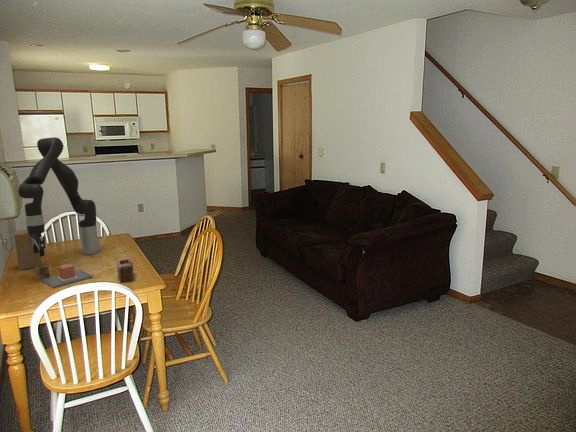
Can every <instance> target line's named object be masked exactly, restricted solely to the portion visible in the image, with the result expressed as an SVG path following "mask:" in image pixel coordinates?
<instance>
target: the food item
mask: <svg viewBox="0 0 576 432" xmlns="http://www.w3.org/2000/svg"><path fill="white" fill-rule="evenodd" d="M130 260H131V259H128V258H127V259H120V260H117V263H116V270H117V276H118V279H119V281H120V283H128V282H133V281H134V264H133V261H130Z"/></svg>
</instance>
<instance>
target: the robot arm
mask: <svg viewBox="0 0 576 432" xmlns="http://www.w3.org/2000/svg"><path fill="white" fill-rule="evenodd" d="M36 146H37V151H39V153H40V155H41V156H42V158H41V159H40V160H38V162H37V163H35V164H34V166H33V167H32V169H31V171H30V173H29V176H28V177H26V178H25V180H23V181H22V182H21V184H20V185H19V186H18V190H17V193H18V195H19V197H20V198H22V199H32V202H28V203H26V204H25V205H24V211H25V223H26V224H25V225H26V230H27V232H28V234H30V242H31V244H32V246H33V251H34V253H39V256H40V257H41V258H43V257H45V255H46V254H45V253H46V252H45V249H46V248H47V247H46V241H45V239H46V238H45V236H44V235H43V236H42V234H43V233H45V231H46V230H45V228H46V227H45V223H44V216H43V210H42V203H43V196H44V188H43V186H42V185H43V184H44V183H45V180H46V178H47V176H48V174H49V172H50V170H52V172H53V174H54V175H55V177H56V179H57V180H58V182H59V184H60V186H61V187H62V189H63V190H64V192H65V194H66V195H67V198H68V200H69V202H70V205H71V207H72V209H73V211H74V212H75V213H76V214H78V215H81V216H84V218H83V220H79V222H78V228H79V229H78V230H79V238H80V248H81V253H82V255H85V256H87V255H89V256H90V255H94V254H98V253H100V252H101V251H100V250H101V247H100V240H99V236H98V233H97V226H96V225H97V224H96V222H97V207H96V206H97V205H96V203H95V202H94V201H93V200H92V199H83V198H82V197H81V195H80V193H79V191H78V189H79V179H78V178H77V176H76V175H77V174H76V173H75V172H74V170H73V169H72V168H70V167H69V166H68V165H67V164H65V163H64V162H62V161H61V160H59V157H60V156H61V154H62V153H63V151H64V142H63V141H62V140H61V138H59V137H45V138H44V137H43V138H40V139H38V140H37V144H36Z"/></svg>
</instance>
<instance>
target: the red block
mask: <svg viewBox="0 0 576 432" xmlns="http://www.w3.org/2000/svg"><path fill="white" fill-rule="evenodd" d="M75 271H76V270H75V266H74V265H73V264H71V263H66V264H62V265H58V275H59V276H60V278H61V279H63V280H66V279H70V278H74V277H75Z"/></svg>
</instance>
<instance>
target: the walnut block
mask: <svg viewBox="0 0 576 432" xmlns="http://www.w3.org/2000/svg"><path fill="white" fill-rule="evenodd" d="M33 269H34V274H35V279H37V280H38V281H42V279H44V278H48V277H51V275H50V269H49V266H48V265H46V264H41V265H40V266H36V267H34V268H33Z"/></svg>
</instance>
